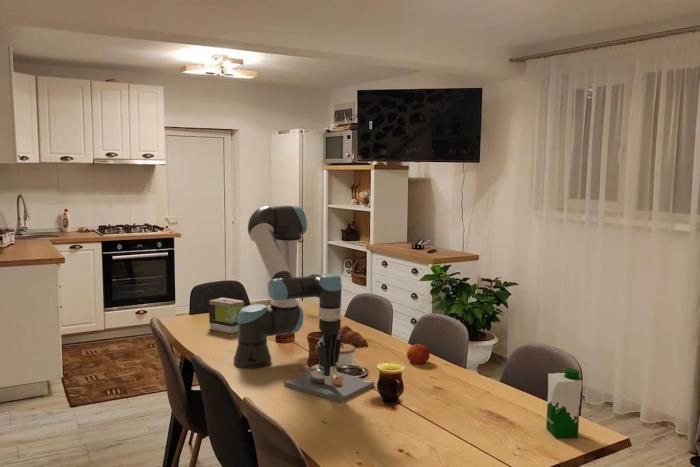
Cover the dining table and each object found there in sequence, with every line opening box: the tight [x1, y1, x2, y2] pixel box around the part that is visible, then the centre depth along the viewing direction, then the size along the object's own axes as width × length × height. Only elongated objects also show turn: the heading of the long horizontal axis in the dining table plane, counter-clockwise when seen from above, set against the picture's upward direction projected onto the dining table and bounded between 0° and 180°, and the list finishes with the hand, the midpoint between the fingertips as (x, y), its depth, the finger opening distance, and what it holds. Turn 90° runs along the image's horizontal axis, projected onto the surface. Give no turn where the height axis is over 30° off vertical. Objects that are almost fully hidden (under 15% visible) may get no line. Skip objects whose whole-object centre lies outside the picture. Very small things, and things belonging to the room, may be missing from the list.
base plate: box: [283, 370, 375, 403], centre depth 221 cm, size 26×21×2 cm
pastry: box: [339, 325, 368, 347], centre depth 277 cm, size 17×15×8 cm
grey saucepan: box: [309, 363, 343, 390], centre depth 218 cm, size 22×10×6 cm, turn 24°
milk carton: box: [545, 368, 584, 439], centre depth 184 cm, size 9×9×20 cm
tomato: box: [406, 343, 431, 364], centre depth 250 cm, size 9×9×8 cm
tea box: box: [208, 297, 245, 334], centre depth 295 cm, size 15×10×15 cm, turn 58°
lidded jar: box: [334, 343, 356, 368], centre depth 244 cm, size 11×11×9 cm
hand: (329, 383), depth 211 cm, fingers closed
